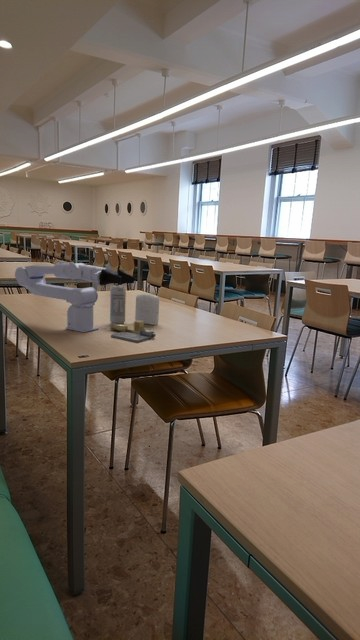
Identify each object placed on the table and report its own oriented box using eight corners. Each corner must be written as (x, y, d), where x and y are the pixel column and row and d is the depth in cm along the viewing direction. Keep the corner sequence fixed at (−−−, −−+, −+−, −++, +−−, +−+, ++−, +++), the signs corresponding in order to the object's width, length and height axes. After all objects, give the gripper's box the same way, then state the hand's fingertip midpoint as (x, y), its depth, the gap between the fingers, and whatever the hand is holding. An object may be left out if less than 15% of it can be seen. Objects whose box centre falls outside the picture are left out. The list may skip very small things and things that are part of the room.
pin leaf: (111, 336, 146) (111, 330, 145) (128, 332, 154) (128, 325, 154) (140, 343, 139) (140, 336, 139) (157, 338, 147) (157, 331, 147)
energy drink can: (126, 322, 171) (127, 286, 168) (123, 325, 165) (123, 288, 162) (112, 321, 171) (112, 285, 168) (108, 324, 165) (108, 287, 162)
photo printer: (159, 324, 171) (161, 294, 168) (154, 325, 167) (155, 295, 165) (139, 320, 176) (140, 291, 173) (133, 322, 172) (134, 292, 170)
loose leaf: (110, 329, 156) (110, 320, 155) (126, 325, 164) (126, 316, 163) (135, 335, 149) (135, 324, 149) (151, 330, 157) (151, 321, 157)
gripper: (83, 262, 141) (115, 267, 135) (110, 263, 154) (140, 268, 148) (82, 283, 142) (113, 289, 136) (108, 282, 155) (138, 288, 149)
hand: (127, 280), depth 142 cm, fingers open, 7 cm apart
